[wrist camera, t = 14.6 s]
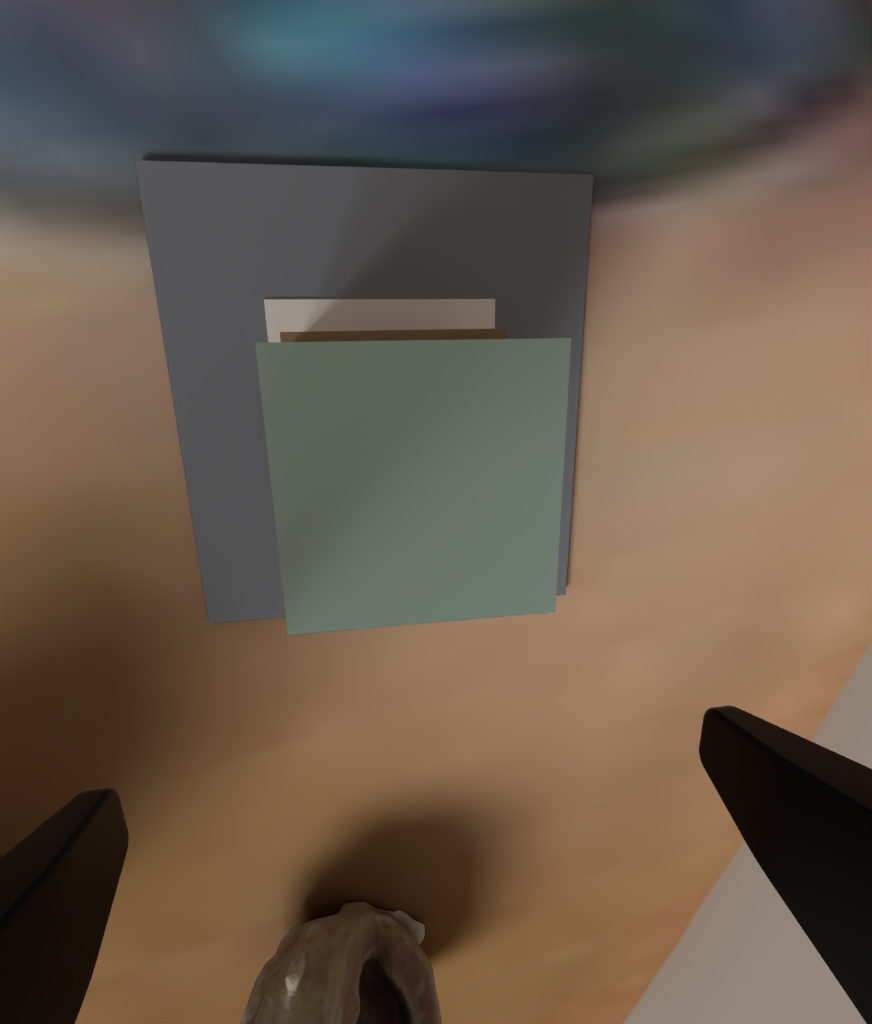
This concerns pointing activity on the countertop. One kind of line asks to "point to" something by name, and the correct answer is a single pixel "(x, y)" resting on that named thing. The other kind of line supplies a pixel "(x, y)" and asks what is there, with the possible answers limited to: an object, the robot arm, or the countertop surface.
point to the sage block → (415, 478)
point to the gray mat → (337, 309)
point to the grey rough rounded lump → (348, 972)
